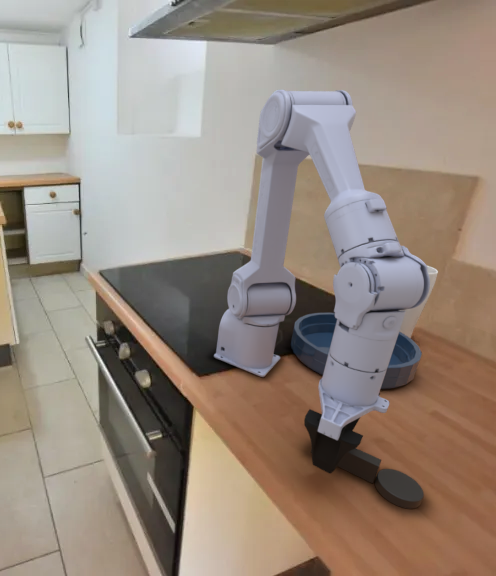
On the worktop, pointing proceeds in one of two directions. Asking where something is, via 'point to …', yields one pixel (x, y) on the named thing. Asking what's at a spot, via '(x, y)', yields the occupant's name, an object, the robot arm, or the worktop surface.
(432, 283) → the drinking glass
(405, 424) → the worktop surface
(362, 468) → the ladle
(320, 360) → the bowl
